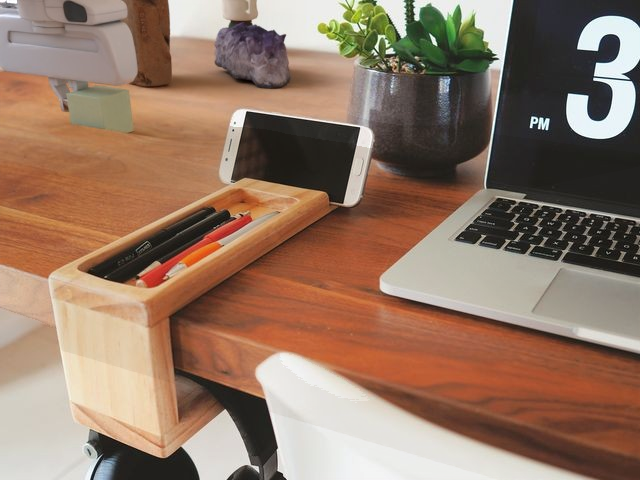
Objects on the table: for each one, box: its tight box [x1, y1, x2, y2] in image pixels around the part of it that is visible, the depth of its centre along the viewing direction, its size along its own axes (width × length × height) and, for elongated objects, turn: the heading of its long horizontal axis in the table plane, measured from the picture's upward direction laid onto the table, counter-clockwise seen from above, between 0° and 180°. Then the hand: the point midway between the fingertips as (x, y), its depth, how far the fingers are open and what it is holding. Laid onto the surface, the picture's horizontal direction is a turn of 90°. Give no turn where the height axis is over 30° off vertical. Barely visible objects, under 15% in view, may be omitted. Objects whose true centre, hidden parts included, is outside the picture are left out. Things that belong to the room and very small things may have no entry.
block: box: [121, 0, 173, 87], centre depth 119 cm, size 11×8×20 cm
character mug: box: [221, 0, 259, 28], centre depth 147 cm, size 11×7×13 cm, turn 35°
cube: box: [66, 84, 135, 134], centre depth 95 cm, size 6×6×6 cm
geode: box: [213, 22, 291, 89], centre depth 127 cm, size 20×12×10 cm, turn 31°
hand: (73, 111), depth 96 cm, fingers closed
